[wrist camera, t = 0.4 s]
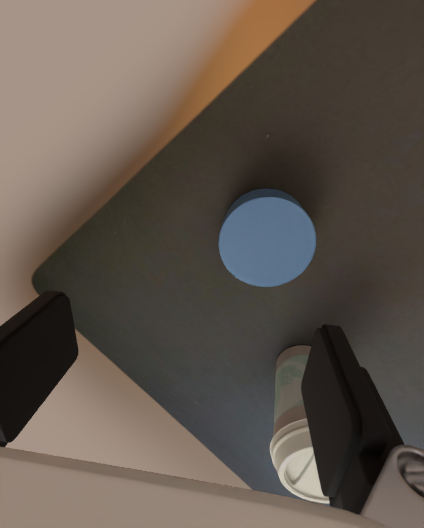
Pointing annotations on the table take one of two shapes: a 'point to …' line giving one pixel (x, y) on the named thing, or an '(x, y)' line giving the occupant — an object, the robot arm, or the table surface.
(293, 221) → the puck
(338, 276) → the table surface
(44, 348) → the robot arm
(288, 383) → the coffee cup
